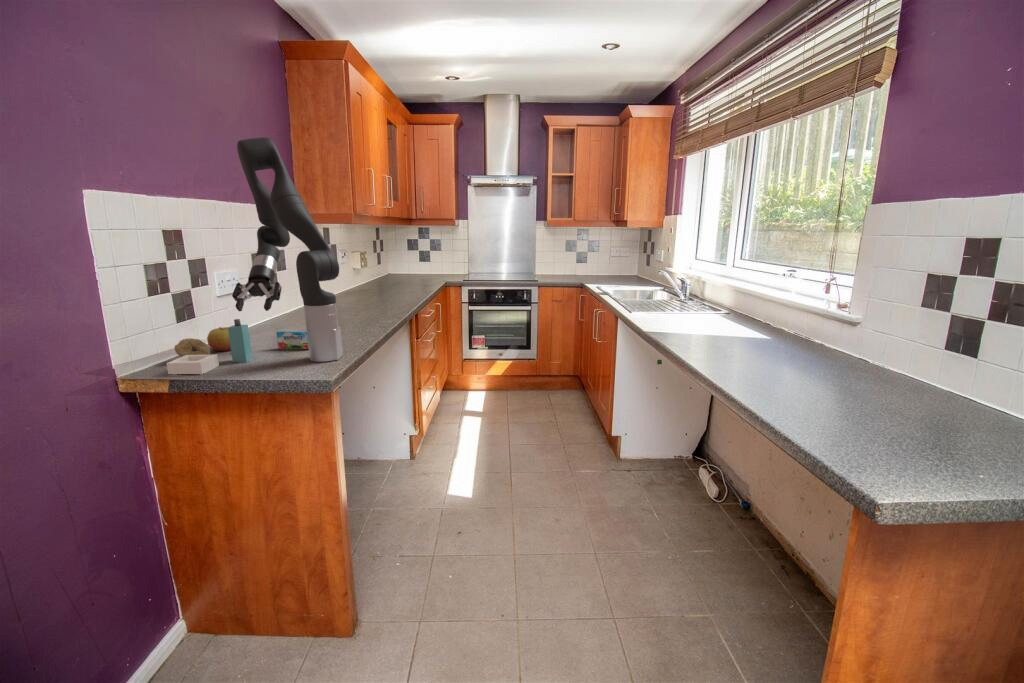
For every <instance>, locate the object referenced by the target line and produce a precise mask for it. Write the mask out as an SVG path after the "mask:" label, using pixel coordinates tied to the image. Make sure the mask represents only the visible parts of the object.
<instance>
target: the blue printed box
mask: <svg viewBox="0 0 1024 683" xmlns="http://www.w3.org/2000/svg"><path fill="white" fill-rule="evenodd" d="M276 339H277V341H276V342H277V348H278V350H288V349H309V348H308V339H307V330H305V331H304V330H301V331H300V330H278V331H276Z"/></svg>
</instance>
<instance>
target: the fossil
mask: <svg viewBox="0 0 1024 683" xmlns="http://www.w3.org/2000/svg"><path fill="white" fill-rule="evenodd" d="M208 345H209V344H208V343H205V342H204V341H202V340H201V339H199V338H188V337H187V338H184V339H181V340H180V341H178V343H177V344H175V345H174V352H175V353H176V354H177V355H178V356H180V357H183V356H185V355H211V350H210V346H208Z"/></svg>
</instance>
